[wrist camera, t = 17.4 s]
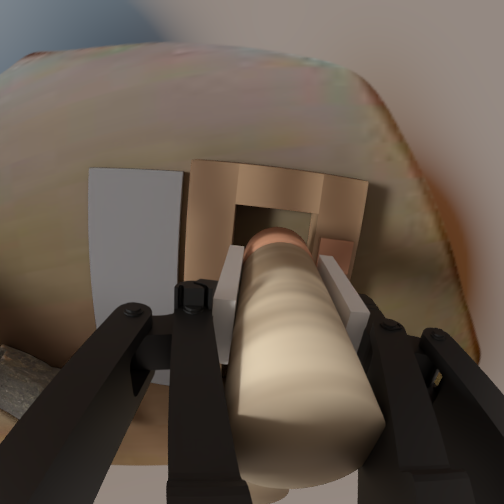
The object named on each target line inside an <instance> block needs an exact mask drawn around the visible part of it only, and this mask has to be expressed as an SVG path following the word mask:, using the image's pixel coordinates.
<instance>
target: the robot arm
mask: <svg viewBox="0 0 504 504" xmlns="http://www.w3.org/2000/svg"><path fill="white" fill-rule="evenodd" d="M243 255H244V246H237V245H230V247H229V250H228V253H227V256H226V259H225V263H224V266H223V269H222V272H221V275H220V278H219V281H217V280H208V279H199V280H197V281H183V282H180V283H178V284H176V285H175V287H174V313H172V314H168V315H152V310H151V308H150V307H149V306H147V305H145V304H142V303H136V302H131V303H130V302H129V303H126V304H122V305H120V306H119V307H117V308H116V309H115V310H114V311H113V312H112V313H111V314H110V315H109V316H108V318H107V319H106V320H105V321H104V322H103V323H102V324H101V325H100V326H99V327H98V328H97V330H96V331H95V332H94V333H93V334H92V335H91V336H90V337H89V338H88V339H87V341H86V342H85V343H84V344H83V345H82V346H81V347H80V348H79V349H78V351H77V352H76V353H75V354H74V355H73V356H72V357H71V359H70V360H69V361H68V362H67V363H66V364H65V365H64V367H63V368H62V369H61V370H60V371H59V372H58V374H57V375H56V376H55V377H54V378H53V379H52V381H51V382H50V383H49V384H48V385H47V386H46V388H45V389H44V390H43V391H42V392H41V394H40V395H39V396H38V397H37V398H36V400H35V401H34V402H33V403H32V405H31V406H30V407H29V408H28V409H27V411H26V412H25V413H24V414H23V416H22V417H21V418H20V419H19V421H18V422H17V423H16V424H15V426H14V427H13V428H12V430H11V431H10V432H9V433H8V435H7V436H6V437H5V439H4V440H3V441H2V443H1V444H0V504H93V502H94V500H95V498H96V496H97V493H98V491H99V489H100V487H101V485H102V482H103V480H104V478H105V476H106V474H107V471H108V469H109V467H110V465H111V463H112V461H113V459H114V457H115V455H116V452H117V450H118V448H119V446H120V444H121V442H122V440H123V438H124V436H125V434H126V431H127V429H128V427H129V425H130V423H131V421H132V419H133V417H134V415H135V413H136V411H137V409H138V407H139V405H140V403H141V401H142V399H143V397H144V395H145V393H146V391H147V389H148V387H149V384H150V382H151V380H152V378H153V376H154V375H155V370H169V369H170V382H169V414H168V481H167V486H166V493H167V495H166V497H167V504H253V503H252V499H251V494H250V491H249V488H248V485H247V483H246V481H245V480H243V479H242V478H241V476H240V472H239V467H238V462H237V457H236V452H235V447H234V442H233V437H232V432H231V426H230V421H229V415H228V410H227V404H226V399H225V393H224V387H223V381H222V375H221V369H220V364H227V365H228V361H229V354H230V347H231V340H232V334H233V327H234V320H235V313H236V307H237V300H238V293H239V286H240V280H241V272H242V264H243ZM317 270H318V272H319V274H320V276H321V278H322V280H323V282H324V284H325V286H326V288H327V290H328V292H329V295H330V297H331V299H332V301H333V303H334V305H335V307H336V309H337V312H338V314H339V316H340V318H341V320H342V322H343V325H344V327H345V329H346V331H347V333H348V336H349V338H350V340H351V342H352V344H353V347H354V349H355V351H356V353H357V356H358V358H359V360H360V363H361V365H362V367H363V369H364V372H365V374H366V376H367V379H368V381H369V383H370V386H371V388H372V391H373V393H374V395H375V398H376V400H377V403H378V405H379V407H380V410H381V412H382V415H383V417H384V420H385V424H386V426H385V428H384V430H383V432H382V434H381V435H380V437H379V439H378V441H377V442H376V444H375V446H374V447H373V449H372V451H371V452H370V454H369V456H368V457H367V459H366V461H365V462H364V464H363V465H362V466H361V467H360V468H359V469H358V504H504V395H503V394H502V393H501V391H500V390H499V389H498V388H497V387H496V386H495V384H494V383H493V382H492V381H491V380H490V379H489V377H488V376H487V375H486V374H485V373H484V372H483V371H482V370H481V369H480V367H479V366H478V365H477V364H476V363H475V362H474V361H473V360H472V358H471V357H470V356H469V355H468V354H467V353H466V352H465V351H464V350H463V349H462V348H461V347H460V346H459V344H458V343H457V342H456V341H455V340H454V339H453V338H452V337H451V336H450V335H449V334H448V333H446V332H444V331H443V330H442V329H438V328H426V329H425V330H423V333H422V336H421V338H419V337H415V336H410V335H407V333H406V331H405V328H404V327H403V326H402V325H401V324H400V323H398V322H396V321H394V320H391V319H387V318H385V317H384V315H383V314H382V312H381V311H380V310H379V308H378V307H377V306H376V304H375V303H374V301H373V300H372V299H371V298H369V297H368V296H367V295H365V294H358V293H357V292H356V290H355V289H354V287H353V286H352V284H351V283H350V281H349V280H348V278H347V277H346V275H345V274H344V272H343V271H342V269H341V268H340V266H339V265H338V264H337V262H336V261H335V259H334V258H333V256H326V255H319V258H318V264H317ZM439 372H440V373H441V375H442V379H441V381H440V383H439V385H438V386H436V384H435V383H434V381H435V379H436V377H437V375H438V373H439Z"/></svg>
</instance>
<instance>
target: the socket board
mask: <svg viewBox="0 0 504 504" xmlns="http://www.w3.org/2000/svg"><path fill="white" fill-rule="evenodd" d="M368 183H369V182H367V181H363V180H359V179H354V178H349V177H343V176H337V175H330V174H324V173H317V172H311V171H304V170H297V169H289V168H281V167H273V166H265V165H256V164H246V163H236V162H226V161H214V160H201V159H194V160H191V170H190V182H189V195H188V209H187V225H186V243H185V265H184V281H197V280H199V279H208V280H217V281H219V278H220V275H221V272H222V269H223V266H224V263H225V259H226V256H227V253H228V250H229V247H230V245H233V242H234V232H235V221H236V211H237V204H239V205H248V206H258V207H266V208H275V209H283V210H292V211H300V212H308V213H312V214H311V221H310V227H309V234H308V240H307V247H308V249H309V251H310V253H311V255H312V257H313V259H314V261H315V263H316V266H317V264H318V258H319V255H326V256H333V258H334V259H335V261H336V262H337V264H338V265H339V266H340V268H341V269H342V271H343V272H344V274H345V275H346V277H347V278H348V280H349V281H350V280H351V275H352V271H353V266H354V261H355V256H356V251H357V246H358V241H359V236H360V231H361V225H362V220H363V214H364V208H365V202H366V196H367V189H368ZM222 368H223V364H220V369H221V375H222ZM222 381H223V387H224V388H225V381H226V378H222Z"/></svg>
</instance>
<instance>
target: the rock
mask: <svg viewBox="0 0 504 504" xmlns="http://www.w3.org/2000/svg"><path fill="white" fill-rule="evenodd" d="M60 370H61V369H59V368H55V367H51V366H49V365H48V364H47V363H45V362H43V361H41V360H39V359H37V358H35V357H34V356H32V355H30V354H28V353H25V352H23V351H20V350H17V349H14V348H12V347H9V346H7V345H3V344H2V345H1V347H0V409H2V410H4V411H6V412H8V413H10V414H12V415H13V416H15V417H16V418H18V419H20V418H21V417H22V416H23V414H24V413H25V412H26V411H27V409H28V408H29V407H30V406H31V405H32V403H33V402H34V401H35V400H36V398H37V397H38V396H39V395H40V394H41V392H42V391H43V390H44V389H45V388H46V386H47V385H48V384H49V383H50V382H51V381H52V379H53V378H54V377H55V376H56V375H57V374H58V372H59V371H60Z"/></svg>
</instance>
